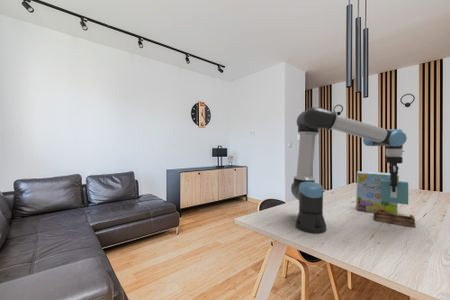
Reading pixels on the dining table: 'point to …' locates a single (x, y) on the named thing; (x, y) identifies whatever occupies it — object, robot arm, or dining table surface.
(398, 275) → the dining table surface
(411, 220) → the brown wooden tray
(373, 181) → the snack box
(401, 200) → the door panel
